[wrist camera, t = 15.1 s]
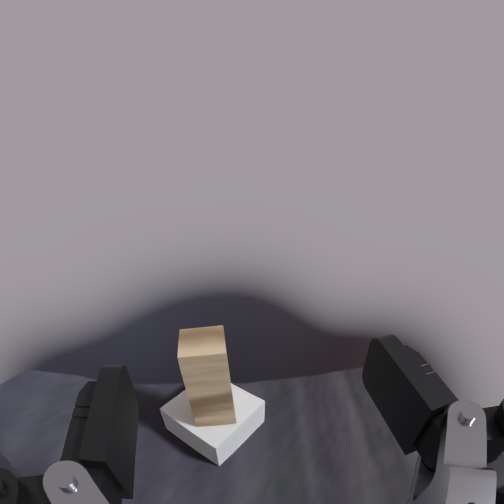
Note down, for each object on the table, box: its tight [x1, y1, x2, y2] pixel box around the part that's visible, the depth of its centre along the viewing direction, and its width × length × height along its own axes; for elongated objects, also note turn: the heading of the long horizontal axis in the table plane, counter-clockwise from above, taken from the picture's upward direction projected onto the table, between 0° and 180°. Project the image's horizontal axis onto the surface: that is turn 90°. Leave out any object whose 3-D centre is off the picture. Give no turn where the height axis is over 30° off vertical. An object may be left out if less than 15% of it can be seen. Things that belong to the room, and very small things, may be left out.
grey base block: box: [160, 384, 265, 466], centre depth 40 cm, size 10×10×5 cm
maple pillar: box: [177, 325, 236, 427], centre depth 36 cm, size 5×5×12 cm
